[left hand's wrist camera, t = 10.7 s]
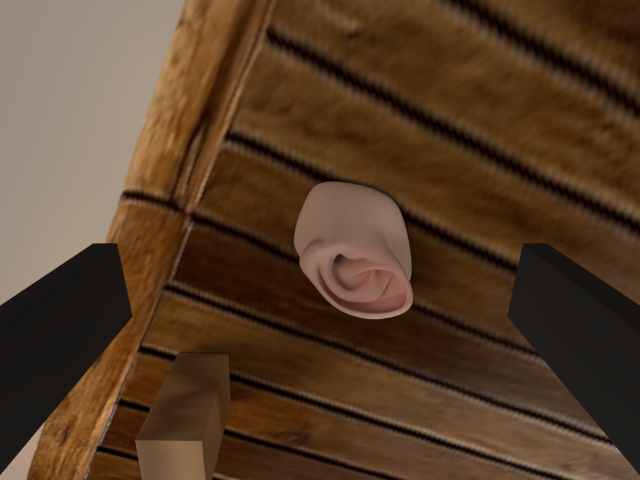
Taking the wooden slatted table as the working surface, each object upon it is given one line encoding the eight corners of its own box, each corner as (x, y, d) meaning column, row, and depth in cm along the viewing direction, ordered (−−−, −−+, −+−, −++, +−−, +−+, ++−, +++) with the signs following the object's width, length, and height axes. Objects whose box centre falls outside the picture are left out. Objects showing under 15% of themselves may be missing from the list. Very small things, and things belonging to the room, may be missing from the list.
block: (228, 353, 42) (201, 441, 31) (231, 402, 44) (207, 498, 34) (178, 352, 41) (134, 440, 31) (184, 401, 44) (145, 498, 34)
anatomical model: (284, 196, 31) (424, 184, 31) (287, 184, 34) (411, 173, 34) (301, 330, 36) (421, 320, 36) (302, 308, 39) (410, 298, 39)
